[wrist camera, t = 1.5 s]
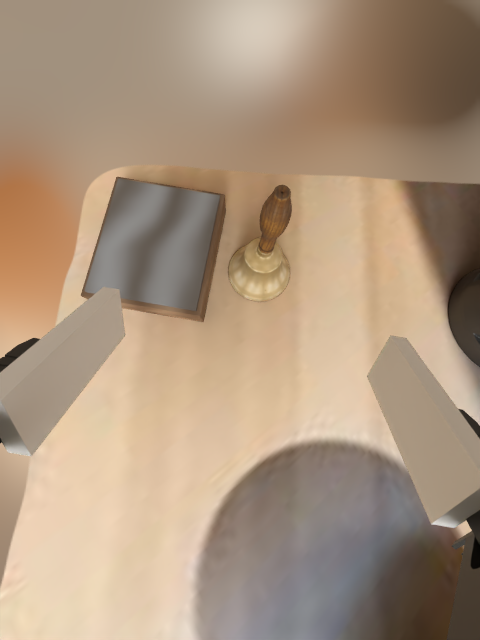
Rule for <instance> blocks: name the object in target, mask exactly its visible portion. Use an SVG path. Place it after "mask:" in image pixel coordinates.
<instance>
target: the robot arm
mask: <svg viewBox="0 0 480 640" xmlns="http://www.w3.org/2000/svg"><path fill="white" fill-rule="evenodd" d="M449 320H450V325H451V329H452V332H453V334H454V337H455V339H456V341H457V342H458V344H459V346H460V347H461V349H462V350H463V351H464V353H465V354H466V355H467V356H468V357H469V358H470V359H471V360H472V361H473V362H474V363H476V364H477V365H478V366H480V268H479V269H476V270H474V271H472V272H470V273H469V274H467V275H466V276H464V277H463V278H462V279H461V280H460V281H459V282H458V284H457V285H456V287H455V288H454V290H453V292H452V295H451V298H450V302H449ZM124 336H125V330H124V322H123V314H122V306H121V298H120V290H119V289H114V288H108V287H103V288H101V289H100V290H99V291H98V292H97V293H95V294H94V295H93V296H92V297H91V298H89V299H88V300H87V301H86V302H85V303H83V304H82V305H81V306H80V307H79V308H77V309H76V310H75V311H74V312H73V313H71V314H70V315H69V316H68V317H67V318H65V319H64V320H63V321H62V322H61V323H59V324H58V325H57V326H56V327H55V328H53V329H52V330H51V331H50V332H48V333H47V334H46V335H45V336H44V337H42V338H41V339H37V338H32V339H30V340H28V341H26V342H24V343H21V344H19V345H17V346H16V347H15V348H13V349H12V350H11V351H10V352H8V353H7V354H6V355H5V357H2V358H1V359H0V443H1V442H2V443H3V445H4V446H5V448H6V450H7V451H8V452H9V453H16V454H21V455H27V456H32V455H33V454H34V452H35V451H36V450H37V449H38V447H39V446H40V445H41V443H42V442H43V441H44V440H45V438H46V437H47V436H48V434H49V433H50V432H51V430H52V429H53V428H54V427H55V425H56V424H57V423H58V421H59V420H60V419H61V418H62V416H63V415H64V414H65V412H66V411H67V410H68V408H69V407H70V406H71V405H72V403H73V402H74V401H75V399H76V398H77V397H78V396H79V394H80V393H81V392H82V390H83V389H84V388H85V387H86V385H87V384H88V383H89V381H90V380H91V379H92V377H93V376H94V375H95V374H96V372H97V371H98V370H99V368H100V367H101V366H102V365H103V363H104V362H105V361H106V359H107V358H108V357H109V355H110V354H111V353H112V352H113V350H114V349H115V348H116V346H117V345H118V344H119V343H120V341H121V340H122V339H123V337H124ZM367 377H368V380H369V382H370V384H371V387H372V389H373V391H374V393H375V396H376V398H377V400H378V403H379V405H380V407H381V410H382V412H383V414H384V417H385V419H386V421H387V423H388V426H389V428H390V430H391V433H392V435H393V437H394V440H395V442H396V444H397V447H398V449H399V451H400V453H401V456H402V458H403V460H404V463H405V465H406V467H407V470H408V472H409V474H410V477H411V479H412V481H413V483H414V486H415V488H416V490H417V493H418V495H419V497H420V500H421V502H422V504H423V507H424V509H425V511H426V513H427V516H428V518H429V520H430V523H431V524H434V525H440V526H446V527H452V528H455V527H456V526H458V525H459V524H461V523H462V522H464V521H466V520H467V522H468V524H469V526H470V528H471V529H472V531H471V532H470V533H468V534H466V535H465V536H463V537H461V538H460V539H458V540H456V541H455V542H454V543H453V545H452V547H453V548H454V549H457V548H459V547H461V546H463V545H465V546H464V551H463V553H462V555H463V557H462V562H461V567H460V572H459V578H458V583H457V588H456V594H455V599H454V604H453V610H452V615H451V620H450V625H449V631H448V636H447V640H480V426H479V424H478V423H477V422H476V421H475V420H474V419H473V418H471V417H470V416H469V415H468V414H467V413H466V412H465V411H463V410H460V409H458V408H457V407H456V406H455V404H454V403H453V402H452V400H451V399H450V397H449V396H448V395H447V393H446V392H445V391H444V389H443V388H442V386H441V385H440V384H439V382H438V381H437V380H436V378H435V377H434V375H433V374H432V373H431V371H430V370H429V369H428V367H427V366H426V365H425V363H424V362H423V360H422V359H421V358H420V356H419V355H418V354H417V352H416V351H415V349H414V348H413V347H412V345H411V344H410V343H409V341H408V340H407V338H403V337H397V336H391V335H390V337H389V339H388V341H387V342H386V344H385V346H384V348H383V349H382V351H381V353H380V354H379V356H378V358H377V360H376V361H375V363H374V365H373V367H372V368H371V370H370V372H369V374H368V375H367Z"/></svg>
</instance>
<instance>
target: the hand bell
mask: <svg viewBox="0 0 480 640" xmlns="http://www.w3.org/2000/svg"><path fill="white" fill-rule="evenodd" d="M290 196H291V191H290V189H289V188H288V187H287V186H285V185H279V186H277V187H276V188H275V189H274V191H273V193H272V194H271V195H270V196H269V197H268V199H267V200H266V201H265V203H264V205H263V207H262V211H261V214H260V229H261V232H262V236H261V238H256V239H254V240H252V241H251V242H250V243H249V244H248V245H246V246H244V247H242V248H240V249H239V250H238V251H237V252H236V253H235V254H234V255H233V257H232V258H231V260H230V263H229V267H228V275H229V280H230V283H231V285H232V286H233V288H234V289H235V291H236V292H237V293H238V294H240V295H241V296H243V297H244V298H246V299H249V300H252V301H259V302H260V301H268V300H271V299H273V298H275V297H277V296H278V295H280V294H281V293H282V292H283V291H284V289H285V288H286V287H287V284H288V282H289V278H290V268H289V264H288V261H287V259H286V258H285V256H284V255H283V254H282V250H281V248H280V246H279V245H278V244H277V243H276V239H277V237H279V236H280V235H281V234H282V233H283V232H284V230H285V229H286V227H287V225H288V223H289V220H290V217H291V212H292V206H291V199H290Z"/></svg>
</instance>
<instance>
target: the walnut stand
mask: <svg viewBox="0 0 480 640" xmlns="http://www.w3.org/2000/svg"><path fill="white" fill-rule="evenodd" d="M225 213H226V208H225V195H224V194H218V193H212V192H206V191H200V190H194V189H188V188H182V187H176V186H170V185H164V184H158V183H151V182H145V181H139V180H133V179H127V178H121V177H116V181H115V184H114V187H113V191H112V194H111V197H110V201H109V204H108V207H107V210H106V214H105V217H104V220H103V224H102V227H101V230H100V234H99V237H98V240H97V244H96V247H95V250H94V253H93V257H92V260H91V263H90V267H89V270H88V273H87V277H86V280H85V283H84V287H83V290H82V293H81V296H82V297H84V298H86V299H89V298H91V297H92V296H93V295H94V294H95V293H97V292H98V291H99V290H100V289H101V288H103V287H108V288H114V289H119V290H120V298H121V306H122V308H125V309H131V310H137V311H143V312H148V313H154V314H160V315H166V316H172V317H178V318H183V319H189V320H195V321H201V322H204V317H205V312H206V307H207V302H208V297H209V292H210V287H211V282H212V277H213V272H214V267H215V262H216V257H217V252H218V247H219V242H220V237H221V232H222V227H223V223H224V218H225Z"/></svg>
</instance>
